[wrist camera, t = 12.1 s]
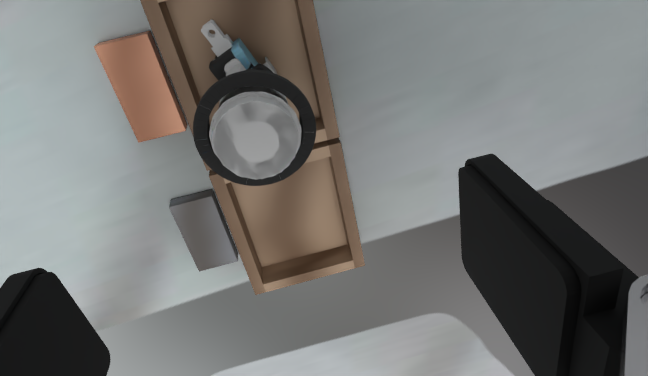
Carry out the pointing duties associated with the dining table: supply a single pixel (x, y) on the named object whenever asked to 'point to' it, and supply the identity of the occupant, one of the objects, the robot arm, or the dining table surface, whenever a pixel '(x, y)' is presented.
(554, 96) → the dining table surface
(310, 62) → the terracotta tag dock
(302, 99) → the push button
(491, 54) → the dining table surface
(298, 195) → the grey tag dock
